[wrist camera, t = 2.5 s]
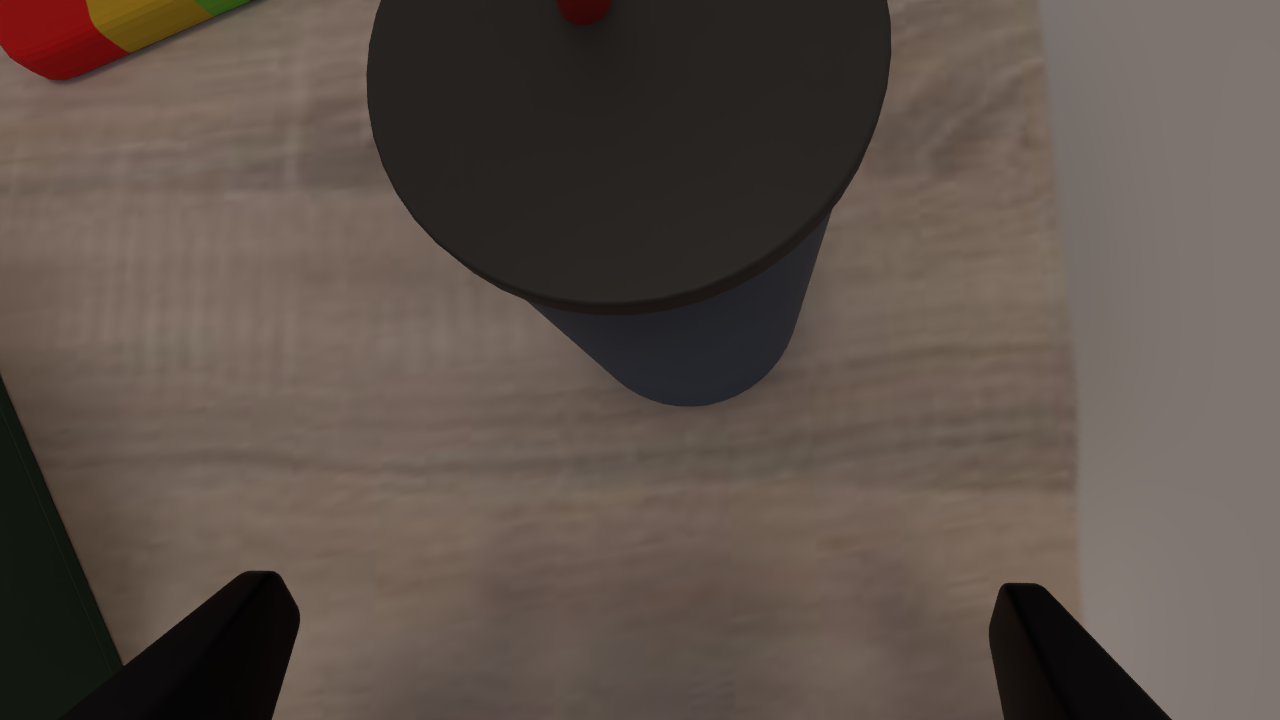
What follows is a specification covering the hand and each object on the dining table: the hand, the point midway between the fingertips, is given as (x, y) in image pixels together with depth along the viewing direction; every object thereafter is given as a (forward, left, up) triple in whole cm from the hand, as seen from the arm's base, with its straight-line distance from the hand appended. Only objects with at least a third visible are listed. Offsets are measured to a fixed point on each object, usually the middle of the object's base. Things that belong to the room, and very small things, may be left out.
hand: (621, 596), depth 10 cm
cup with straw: (+6, -4, -12) cm, 14 cm away
